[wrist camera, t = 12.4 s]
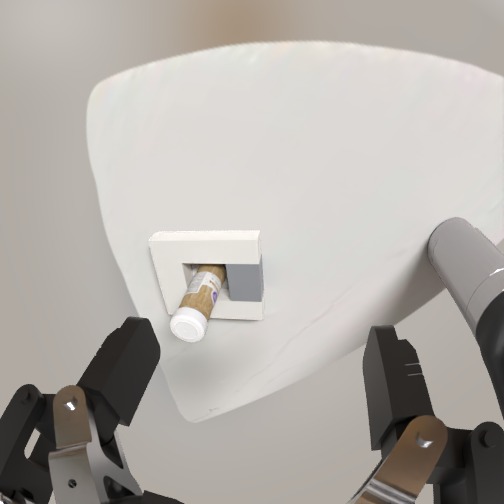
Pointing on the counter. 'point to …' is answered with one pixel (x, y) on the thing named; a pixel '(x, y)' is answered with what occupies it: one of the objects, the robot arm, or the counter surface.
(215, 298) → the sprinkles bottle
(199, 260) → the housing
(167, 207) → the counter surface
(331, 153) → the counter surface
